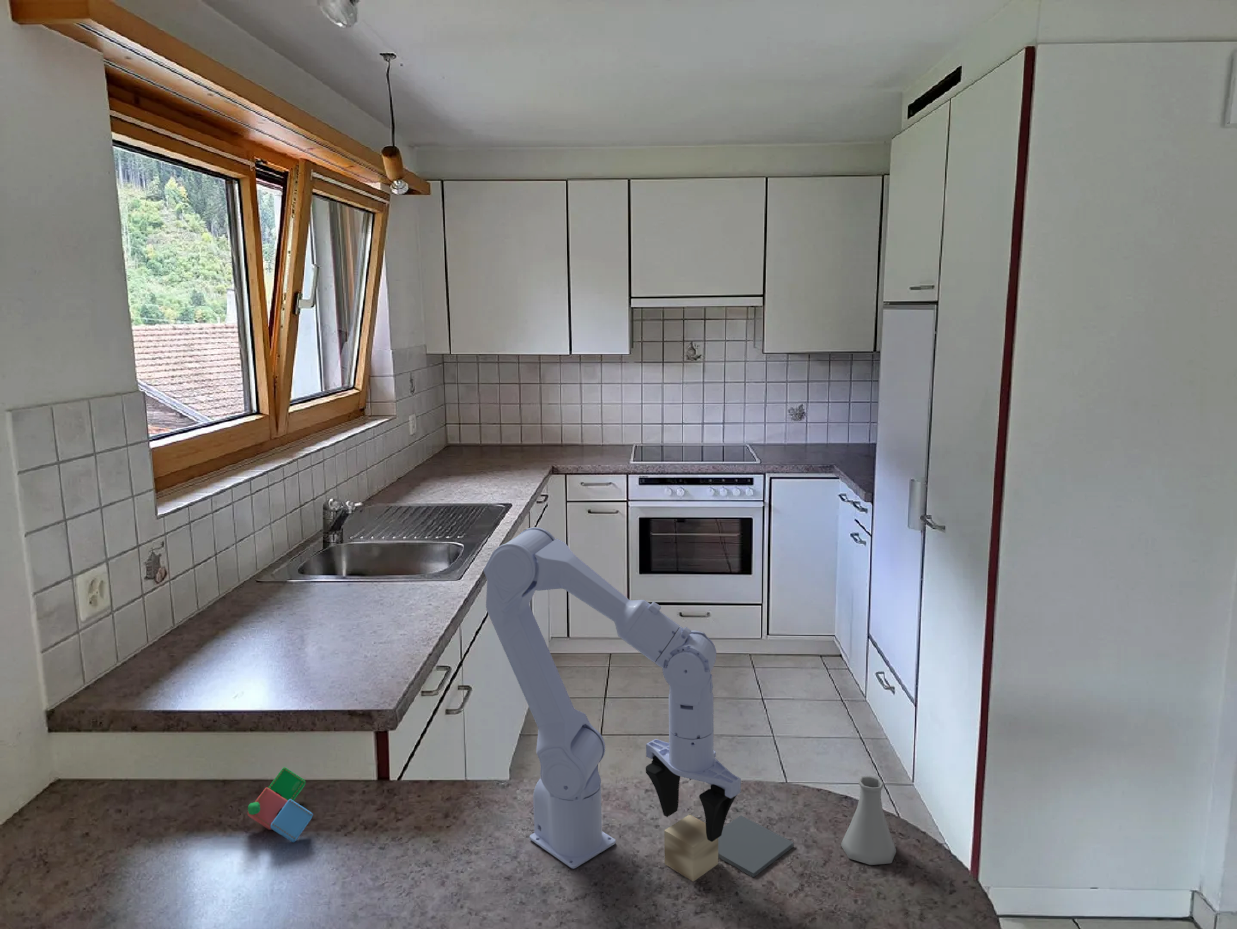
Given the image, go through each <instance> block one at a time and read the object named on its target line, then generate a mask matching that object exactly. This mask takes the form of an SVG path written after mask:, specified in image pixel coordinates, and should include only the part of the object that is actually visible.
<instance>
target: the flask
mask: <svg viewBox="0 0 1237 929" xmlns="http://www.w3.org/2000/svg"><path fill="white" fill-rule="evenodd" d="M858 785H859V787H860V789H859V790H860V794H859V798H858V803H857V807H856V810H855V811H854V813H853V816H852V819H851V821H850V824H849V826H848V828H847V830H846V831H845V834H844V836H843V839H842V840H841V842H840V846H841V848H842V849H843V851H844V853H845V854H846V856H847V858H848V859H849V860H854V861H856V862H860V863H862V864H866V865H870V866H873V865H885V864H892V863H893V860H894V858H895V857H896V856H895V855H896V853H897V850H896V846H895V842H894V840H893V837H892V834H891V831H890V829H889V826H888V823H887V819H886V814H885V812H884V808H883V802H882V790H883V788H884V785H885V783H884V782H883V780H882V778H880V777H877V776H872V775H863V776H862V775H861V776H860V777H859V779H858Z"/></svg>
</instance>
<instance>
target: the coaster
mask: <svg viewBox="0 0 1237 929" xmlns="http://www.w3.org/2000/svg"><path fill="white" fill-rule="evenodd" d="M794 847H795V842H793V841H792V840H790V839H788V838H786V837H784V836H782V835H780V834H778V833H776V832H774V831H772V830H770V829H769V828H766V827H765V826H763V825H760V824H759V823H757V822H755V821H753V820H751V819H749V818H747V817H745V816H744V815H739V816H737V817H736V818H734V819H733V820H731V821H730V822H728V823H727V824H726V825H724V826H723V830H722V835H721V836H720V837H719V838H718V859H720V860H722V861H723V862H726V863H727V864H729V865H731V866H732V867H735V868H736V869H738V870H739V871H741V872H743V873H745V874H747V875H748V876H750V877H752V878H755V877H756V876H757V875H758V874H760V873H761V872H763V871H764V870H765V869H767V868H768V867H769V866H770V865H771V864H773V863H775V861H777V860H778V859H779V858H781V857H782V856H783V855H785V854H786V853H787V852H788V851H790V850H791V849H792V848H794Z"/></svg>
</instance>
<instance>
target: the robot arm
mask: <svg viewBox="0 0 1237 929" xmlns="http://www.w3.org/2000/svg"><path fill="white" fill-rule="evenodd" d="M483 573H484V576H485V578H486V601H485V608H486V612H487V614H488V616H489V619H490V620H491V621H490V622H491V623H492V626H493V628H494V630H495V633H496V635H497V637H498V639H499V642H500V644H501V646H502V649H503V651H504V653H505V655H506V657H507V660H508V663H509V665H510V667H511V669H512V671H513V674H514V676H515V678H516V681H517V683H518V685H519V687H520V689H521V692H522V695H523V697H524V699H525V701H526V702H527V706H528V708H529V710H530V712H531V714H532V717H533V719H534V721H535V724H536V726H537V729H538V731H537V740H536V750H535V752H536V755H537V758H538V760H539V763H540V773H539V774H540V778H539V779H538V781H537V783H536V784H535V787H534V790H533V795H532V800H533V801H532V802H533V803H532V804H533V827H534V832H533V833H531V834H530V835H529V840H530V841H531V842H533V843H535V844H536V845H538V846H539V847H540V848H542V849H543V850H545V851H546V852H547V853H549V854H550V855H552V856H553V857H555V859H558V860H559V861H560V862H561V863H563V864H565V865H566V866H567V867H569V868H571V869H577V868H578V867H579V866H581V865H583V864H584V863H586V862H588V861H589V860H591V859H593V858H595V857H596V856H598V855H599V854H600V853H602V852H604V851H605V850H607V849H609V848H610V847H612V846H613V845H615V844H616V838H614V837H612V836H610V835H609V834H608V833H605V832H604V831H603V823H602V822H603V821H602V820H603V817H602V816H603V815H602V813H603V812H602V784H601V783H602V780H601V775H600V773H599V767H598V766H599V765H598V764H599V763H601V761H602V759H603V758H604V756H605V753H606V743H605V740H604V737H603V736H602V734H601V732H599V730H598V729H596V728H595V727H594V726H593V725H592V724H591V722H590V720H589V719H588V716H587V714H586V713H585V712H583V711H581V710H577V709H576V708H575V706H574V705H573V703H572V700H571V698H570V695H569V694H568V691H567V689H566V687H565V684H564V682H563V680H562V677H561V674H560V673H559V670H558V668H557V666H556V663H555V661H554V659H553V656H552V654H551V652H550V651H551V650H549V647H548V645H547V642H546V641H545V640H546V639H545V638H544V636H543V633H542V630H541V628H540V626H539V625H538V622H537V620H536V617H535V615H534V613H533V610H532V608H531V606H530V603H531V601H532V598H533V597H534V595H535V592H536V591H537V592H538V591H549V590H550V591H551V590H562V589H563V590H564V591H566V592H568V593H569V594H571V595H572V596H574V597H576V598H577V599H579V600H580V601H581V602H583V603H585V604H586V605H587V606H589V607H591V608H592V609H594V610H595V611H597V612H598V613H600V614H601V615H603V616H605V617H606V618H608V619H609V620H611V622H614V626H615V629H616V634H617V636H618V637H619V638H620V639H621V640H623V641H624V642H625V643H627V644H628V645H629V646H630V647H632V648H633V649H635V651H638V652H639V653H640V654H641V655H643V656H645V657H646V658H647V659H648V660H649V661H651V662H652V663H654V664H655V665H656V666H658V667H659V668H661V669H662V676H663V678H664V680H665V681H666V683H667V684H668V686H669V690H668V691H669V692H668V742H667V741H664V740H661V739H658V738H655V739H652V740H650V741H649V742H647V743H645V751H646V752H645V754H646V755H645V756H646V758H648V759H650V760H651V763H649V764H647V765H646V767H645V774H646V776H648V778H649V779H650V781H651V783H652V785H653V786H654V789H655V791H656V794H657V796H658V800H659V803H660V808H661V812H662V814H663V816H664V817H666V818H668V817H670V816H671V815H673V814H675V813H676V812H678V810H679V809H678V808H679V800H680V799H679V797H680V781H681V780H680V779H681V777H682V778H685V779H689V780H694V781H698V782H702V783H706V784H708V785H710V788H708V789H707V790H705V791H703V792H702V793H700V794H699V796H698V797H699V800H700V802H701V805H702V808H703V812H704V818H705V823H706V835H707V839H708V840H709V841H711V842H713V841H714V840H716V839H717V838H719V837H720V836H721V835H722V830H723V827H724V826H725V822H726V819H727V816H728V813H729V811H730V808H731V806H732V805H733V802H734V801H735V799H736V798H737V796H738V795H739V794H740V793H741V791H742V790H741V789H742V788H741V787H742V783H741V782H742V778H740V777H739V776H737V775H736V774H733V773H732V771H730V770H729V769H728V768H727V767H725V765H723V763H721V762H720V761H719V760H718V759H717V758H716V757H717V751H715V749H714V742H715V741H714V736H715V735H714V728H715V727H714V726H715V725H714V722H715V721H714V716H715V715H714V714H715V713H714V709H715V708H714V707H715V706H714V705H715V704H714V693H713V688H714V685H713V675H712V671H713V668H714V666H715V664H716V659H717V649H716V645H715V644H714V642H713V641H712V640H711V639H710V638H709V637H708V635H707V634H706V633H705V632H704V631H703V632H702V631H701V630H694V629H692V630H691V629H690V628H689V627H688V626H684V627H682V626H681V625H680V624H678V623H677V622H676V621H674V620H673V619H671V618H670V617H669V616H668V615H666V614H665V613H663V612H662V611H660V610H661V609H662V606H661V605H659V604H658V603H656V601H652V602H651V603H650V602H648V601H647V600H646V599H636V600H635V599H634V600H633V599H629V598H628V597H627V596H626V595H624V594H623V593H622V592H621V591H619V590H618V589H617V588H616V587H614V586H613V585H612V584H611V583H609V581H607V580H606V579H605V578H603V576H602V575H600V574H598V573H597V572H596V571H595V570H594V569H592V568H591V567H590V566H589V565H588V564H587V563H585V562H584V561H583V560H582V559H580V558H579V557H578V556H577V555H576V554H575V553H574V552H573V550H571V548H570V547H569V546H568V544H567V543H566V542H565V541H563V540H561V539H559V538H555V536H554V535H553V534H552V533H551V532H549V531H548V530H547V529H544V528H542V527H537V526H534V527H533V526H532V527H528V528H526V529H524V530H523V531H522V532H520V533H519V534H518V535H516V536H514V538H512V539H510V540H509V541H507V542H506V543H504V544H503V543H502V544H501V545H499V546H498V547H496V548H495V549H494V550H493V551H492V553H491V554H490V557H489V558H488V560H487V562H486V564H485V566H484V568H483Z"/></svg>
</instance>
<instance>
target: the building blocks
mask: <svg viewBox="0 0 1237 929" xmlns="http://www.w3.org/2000/svg"><path fill="white" fill-rule="evenodd" d="M306 782H307V781H306V780H305V779H304V778H302V777H301V776H300V775H298V774H296V773H295V772H293V771H292V770H290V769H289V768H287V767H285V766H283V767H282V768H281V770H280V771H279V773H278V774H277V775H276V777H274V779H273V780H272V782H271V783H270V785H269V786H268V787H265V788H264V789H263V791H262V792H261V793H260V795H259V796H258V797H257V798H256V800H254V802H250V803H249V804H248V806H247V816H248V817H249V818H250V819H252V820H253V821H255V822H257V823H258V824H259V825H261V826H262V827H264V828H266V829H267V830H269V831H270V830H273V831H274V832H276V833H277V834H278V835H281V836H282V837H283V838H284V839H286V840H288V841H290V842H291V843H296V841H297V840H298V838H299V837H300V836H301V834H302V833H303V832H304V830H305V829H306V827H307V825H308V824H309V823H310V822H311V820H312V818H313V816H314V813H313V812H312V811H310V810H308V809H307V808H306V807H304V806H303V805H300V803H298V802H296V801H295V800H296V799H297V797H298V795H300V793H301V792H302V790H303V789H304V787H305V786H306V784H307V783H306Z"/></svg>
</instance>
